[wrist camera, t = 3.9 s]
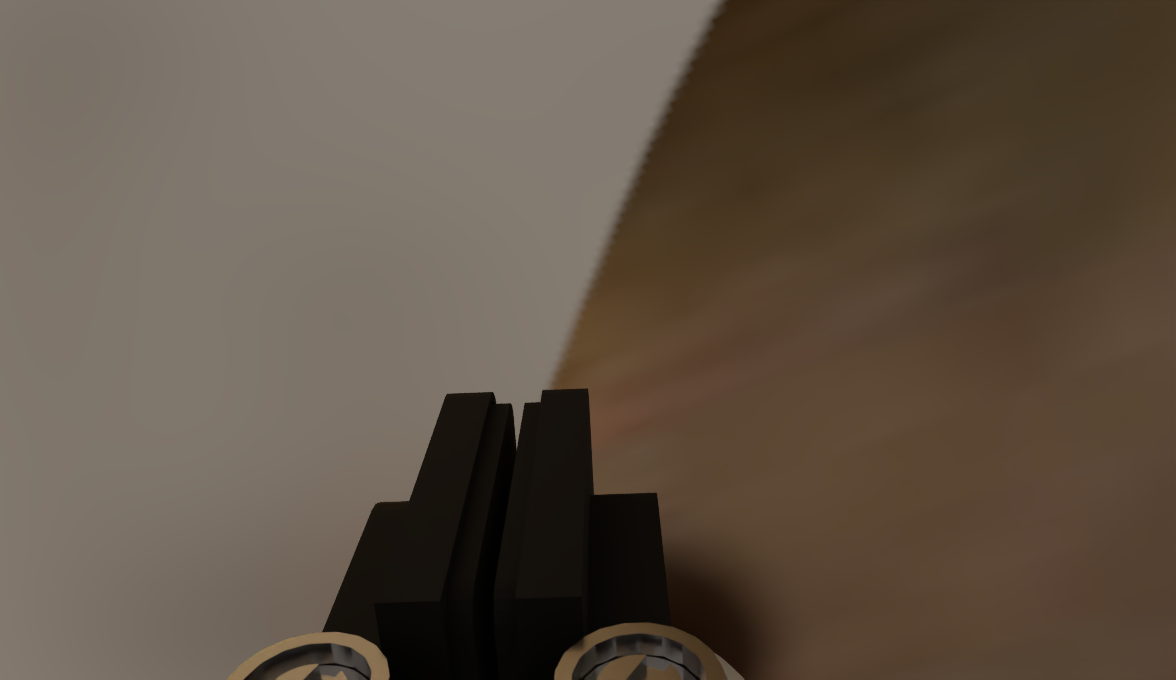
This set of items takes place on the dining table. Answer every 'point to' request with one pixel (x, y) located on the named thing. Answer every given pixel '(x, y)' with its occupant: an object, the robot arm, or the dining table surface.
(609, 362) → the dining table surface
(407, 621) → the robot arm
